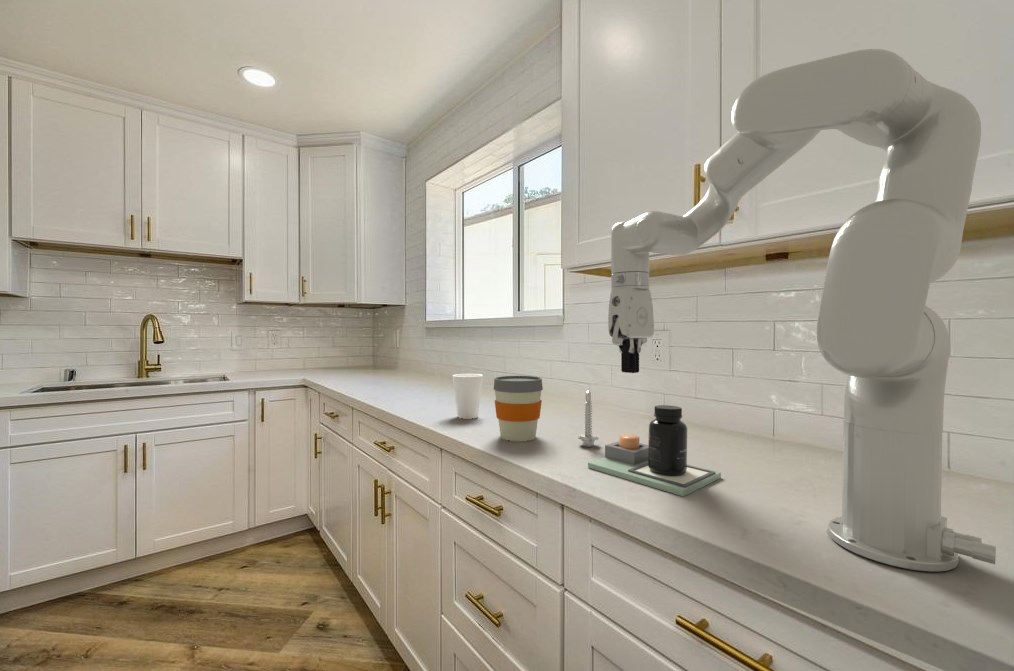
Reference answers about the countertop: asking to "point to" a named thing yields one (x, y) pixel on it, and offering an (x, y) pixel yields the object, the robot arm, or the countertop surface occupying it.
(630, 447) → the button
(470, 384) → the foam cup
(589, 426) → the screw
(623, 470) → the mint green tray
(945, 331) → the robot arm
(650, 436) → the supplement bottle
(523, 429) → the reusable coffee cup
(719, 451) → the countertop surface
